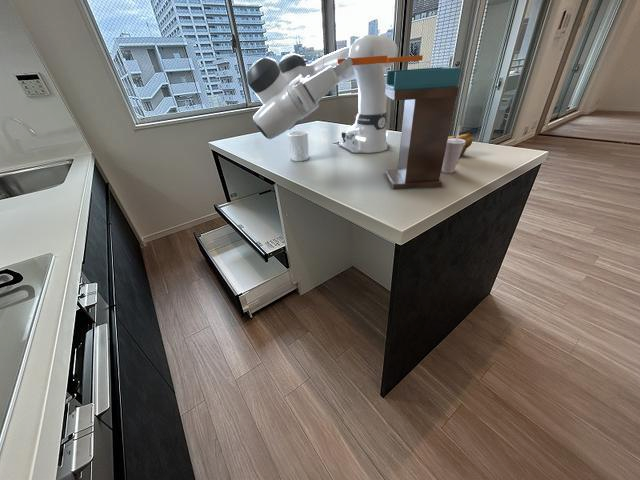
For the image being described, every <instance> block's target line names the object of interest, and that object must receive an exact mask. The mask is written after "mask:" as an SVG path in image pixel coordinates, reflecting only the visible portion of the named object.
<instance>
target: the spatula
mask: <svg viewBox="0 0 640 480" xmlns="http://www.w3.org/2000/svg"><path fill="white" fill-rule="evenodd" d="M423 58H424V55H423V54H421V55H408V56H407V55H406V56H397V57H392V58H387V55H386V56H373V57H359V58H351V60H352V62H353V64H352V65H365V64H378V63H393V62H394V63H405V62H406V63H407V62H420V61H423ZM346 59H347V58H346ZM344 60H345V59H338V60H337V62H338V64H340V63H341V62H343V61H344Z"/></svg>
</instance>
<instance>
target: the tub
mask: <svg viewBox="0 0 640 480" xmlns="http://www.w3.org/2000/svg"><path fill="white" fill-rule="evenodd" d="M461 70H462V67H455V66H454V67H453V66H439V67H423V68H411V69H396V70H395V69H394V70H387V71H386V80H385V85H386V87H387V88H389V89H391V90H394V91H400V90H415V89H429V88H444V87H459V86H458V85H459V80H460V76H461Z"/></svg>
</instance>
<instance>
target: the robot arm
mask: <svg viewBox="0 0 640 480" xmlns="http://www.w3.org/2000/svg"><path fill="white" fill-rule="evenodd" d="M398 49H399V48H398V45H397V43H396V42H395V40H393V39H392V38H391V37H389V36H388V35H377V34H365V35H363V36H361V37H359V38H357V39H356V40H355V41H353V43H352V44H351V45H350V46H346V47H343V48H339V49H338V50H336V51H333V52H331V53H329V54H326V55H324V56H322V57H320V58H318V59H317V60H315V61H314V62H312V63H310V64H307V62H308V61H309V59H308V58H306V59H305V57H303V55H300V54H298V53H288V54H286V55H284V56H283V57H282V58H281V59H280V61H279V62H277V61H276V59H273V58H271V57H268V56H267V57H266V56H264V57H262V58H259V59H257V60H256V61H255V62H253V63H252V64H251V66H250V67H249V69H248V70H247V73H246V83H247V86H248V87H249V89H251V91H252V92H253V93H254V94H255V95H256V97H257V98H258V99H259V101H260V102H261V103H262V105H261V107H260V108H259V109H258V110H257V111H256V112H255V113H254V115H253V116H252V119H253V123H254V124H255V126H256V128H257V129H258V130H259V132H260V134H262V135H263V136H264V138H266V139H268V140H272V139H274V138H276V137H279V136H281V135H282V134H284V133H285V132H287V131H291V130H292V129H293V128H294V127H296V126H297V125H298V124H299V123H301V121H302V119H304V118H306V117H308V116H309V115H311V114H312V113H313V112H314V111H316V110H317V109H319V108H320V103H319V102H320V101H321V100H322V99H323V98H324V97H325V96H326V95H327V94H329V92H331V90H333V88H335V87H336V86H337V85H341V84H343V83H347V82H350V81H353V80H356V84H357V94H358V113H357V114H353V116H354V117H353V118H354V119H355V121H354V123H353V125H351V127H349V128H348V129H347V130H345V131H342V132H341V139H342V142H340V143H339V146H340V147H341V148H344V149H345V150H347V151H349V152H351V153H353V154H362V153H365V154H373V153H375V154H376V153H381V152H384V151H386V150H388V141H387V136H388V134H389V133H388V132H387V125H386V123H387V121H388V112H387V106H388V104H387V103H388V97H387V96H386V95H385V87H386V80H385V71H386V70H388V69H390V68H391V67H392V66H393V65H394V64H395V62H393V63H378V64H365V65H352V64H353V62H352V60H351V58H359V57H373V56H386V55H387V58H392V57H398V54H399V50H398ZM346 58H347V59H346ZM338 59H345V60H344V61H343V62H341V63H340V64H338V62H337V60H338Z"/></svg>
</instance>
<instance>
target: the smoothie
mask: <svg viewBox="0 0 640 480" xmlns="http://www.w3.org/2000/svg"><path fill="white" fill-rule="evenodd" d="M461 126H462V125H458V127H457V132H456V135H455V136H456V138H449V139H448V141H447V146H446V150H445V155H444V160H443V165H442V170H441V173H445V174H452V173H454V172H455V170H456V167H457V165H458V163H459V160H460V157H461V156H460V154H461V151H462V149H463V146H464V145H465V142H466V141H465V140H463V139H458V136H460V132H461Z"/></svg>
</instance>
